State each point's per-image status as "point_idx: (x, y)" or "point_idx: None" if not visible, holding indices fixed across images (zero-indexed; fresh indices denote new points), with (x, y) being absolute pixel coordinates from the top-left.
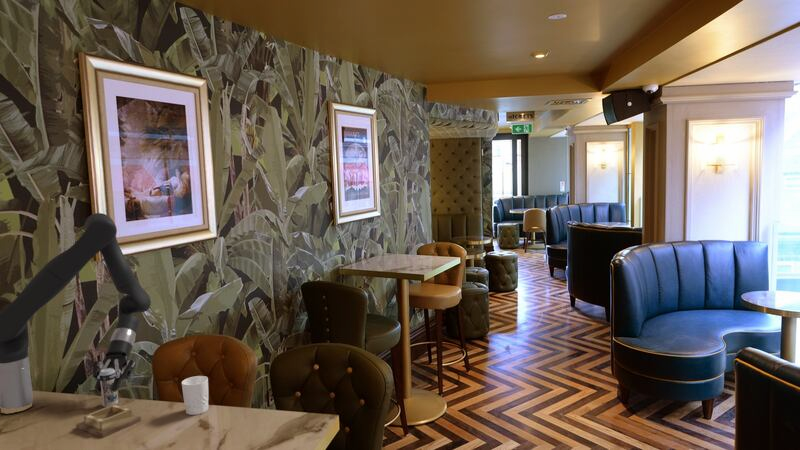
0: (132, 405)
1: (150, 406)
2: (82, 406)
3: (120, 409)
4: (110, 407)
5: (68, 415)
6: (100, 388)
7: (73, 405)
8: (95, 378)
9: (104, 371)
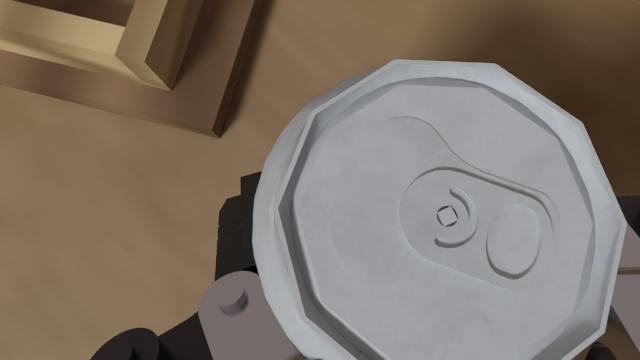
0: (173, 268)
1: (16, 280)
2: None
3: (21, 3)
4: (131, 16)
5: (499, 47)
6: None
7: (626, 181)
8: (633, 210)
9: (451, 136)
